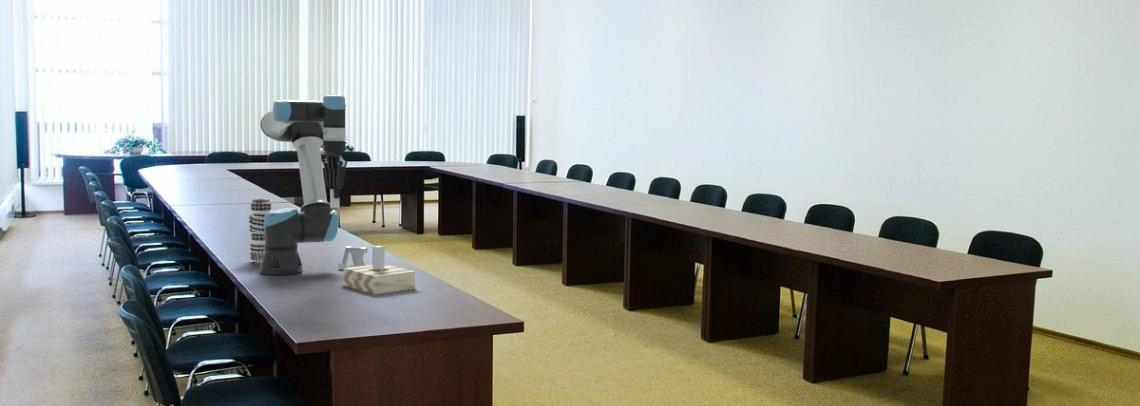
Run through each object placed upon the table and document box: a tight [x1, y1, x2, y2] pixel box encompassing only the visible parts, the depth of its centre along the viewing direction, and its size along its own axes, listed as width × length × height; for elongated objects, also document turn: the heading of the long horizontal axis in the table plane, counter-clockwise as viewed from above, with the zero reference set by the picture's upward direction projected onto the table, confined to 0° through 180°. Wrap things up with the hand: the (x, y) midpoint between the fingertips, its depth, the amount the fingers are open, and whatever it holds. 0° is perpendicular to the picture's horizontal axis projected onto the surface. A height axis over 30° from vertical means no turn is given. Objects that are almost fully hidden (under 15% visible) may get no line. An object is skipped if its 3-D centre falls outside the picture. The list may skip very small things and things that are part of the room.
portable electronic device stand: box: [337, 245, 369, 271], centre depth 361 cm, size 9×8×8 cm
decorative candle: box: [248, 197, 273, 263], centre depth 374 cm, size 9×9×25 cm
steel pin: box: [372, 245, 385, 272], centre depth 327 cm, size 4×4×14 cm
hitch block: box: [342, 263, 416, 295], centre depth 327 cm, size 20×16×6 cm
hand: (334, 207), depth 332 cm, fingers closed
